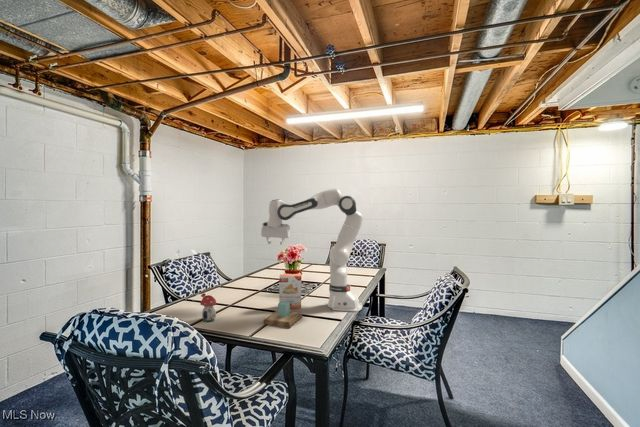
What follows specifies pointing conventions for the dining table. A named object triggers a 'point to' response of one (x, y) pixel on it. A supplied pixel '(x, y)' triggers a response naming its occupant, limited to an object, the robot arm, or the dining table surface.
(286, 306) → the block
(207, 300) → the decorative ornament
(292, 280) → the cracker box
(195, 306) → the dining table surface
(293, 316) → the base
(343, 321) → the dining table surface
